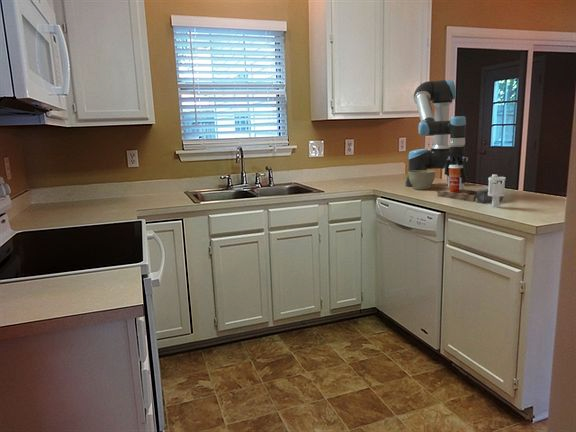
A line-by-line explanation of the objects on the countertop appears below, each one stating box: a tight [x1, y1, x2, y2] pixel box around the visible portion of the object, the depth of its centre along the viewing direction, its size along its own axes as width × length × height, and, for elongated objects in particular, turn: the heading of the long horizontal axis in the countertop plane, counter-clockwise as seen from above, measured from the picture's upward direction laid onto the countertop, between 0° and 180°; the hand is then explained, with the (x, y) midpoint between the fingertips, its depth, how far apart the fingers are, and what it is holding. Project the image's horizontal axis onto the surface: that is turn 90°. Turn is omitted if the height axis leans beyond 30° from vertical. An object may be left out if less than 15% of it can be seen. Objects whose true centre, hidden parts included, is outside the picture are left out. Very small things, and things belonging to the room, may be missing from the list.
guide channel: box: [437, 188, 504, 205], centre depth 225 cm, size 30×14×6 cm, turn 26°
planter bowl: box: [407, 169, 437, 191], centre depth 263 cm, size 16×16×11 cm
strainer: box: [487, 174, 506, 208], centre depth 199 cm, size 7×7×15 cm
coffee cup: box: [448, 164, 463, 193], centre depth 231 cm, size 8×8×15 cm
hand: (455, 188), depth 232 cm, fingers closed on coffee cup, 7 cm apart
